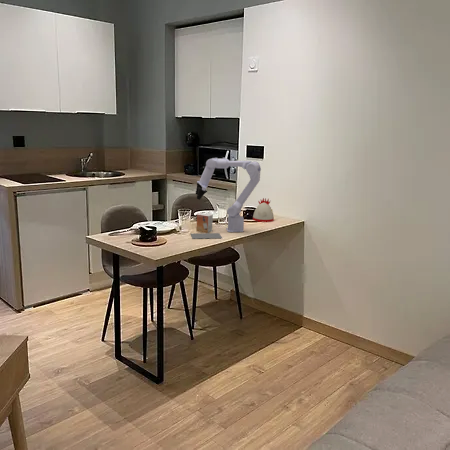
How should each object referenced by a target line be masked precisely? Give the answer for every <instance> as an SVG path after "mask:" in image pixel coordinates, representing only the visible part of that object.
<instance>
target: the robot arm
mask: <svg viewBox="0 0 450 450" xmlns="http://www.w3.org/2000/svg"><path fill="white" fill-rule="evenodd" d="M229 167H236V168H237V167H239V168H242V169H244V170H245V171H246V173H247V174H248V177H249V181H248V182H247V184H246V186H245V187H244V189H243V190H242V192H241V193H240V194H239V196H238V197H237V199H236V200H235V201H234V203H233V204H232V205H231V206H229V207H228V208H227V210H226V211H227V212H226V213H227V227H226V228H225V229H226V230H227V232H228V233H244V226H245V219H244V216H241V214H240V213H241V212H242V208H243V206H244V204H245V202H246V201H247V200H248V198H250V195H251V194H252V192H254V189H256V187H257V185H258V184H259V182H260V181H261V170H262V169H261V165H260V163H259V162H258V161H252V160H244V159H243V160H230V159H228V158H226V157H222V158H218V157H212V158H209V159H207V160H206V162H205V167H204V170H203V172H202V174H201V176H200V178H199V180H197V181H196V189H195V195H197V196H196V199H197V200H199V201H200V200H201V199H202V197H204V195H205V194H207V193H208V190H207V188H208V186H209V183H210V181H211V179H212V176H213V174H214V172H215V169H228V168H229Z"/></svg>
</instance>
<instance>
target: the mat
mask: <svg viewBox="0 0 450 450" xmlns="http://www.w3.org/2000/svg"><path fill="white" fill-rule="evenodd" d="M190 236H191V239H192V240H208V239H209V240H212V239H213V240H215V239H216V240H217V239H218V240H222V239H223V237H222V236H221V234H220V233H219V232H216V233H215V232H209V233H204V232H200V233H196V232H195V233H190ZM221 238H222V239H221Z"/></svg>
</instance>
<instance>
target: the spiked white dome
mask: <svg viewBox="0 0 450 450" xmlns="http://www.w3.org/2000/svg"><path fill="white" fill-rule="evenodd" d="M269 199H270V198H264V197H263V198H262V199H260V200H258V205H257V206H256V208H255V210H254V212H253V215H252V220H253V221H255V222H258V223H271V222H274V221H275V220H274V216H275V215H274V211H273V209H272V207H271V206H270V203H271V201H269Z"/></svg>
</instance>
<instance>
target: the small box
mask: <svg viewBox="0 0 450 450" xmlns="http://www.w3.org/2000/svg"><path fill="white" fill-rule="evenodd" d="M213 218H214V215H213V214H209V213H203V212H201V213H197V214H196V229H195V230H196V232H200V233H213Z"/></svg>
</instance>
